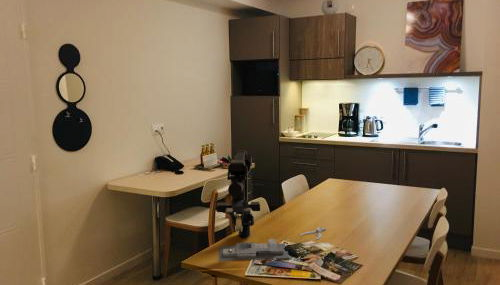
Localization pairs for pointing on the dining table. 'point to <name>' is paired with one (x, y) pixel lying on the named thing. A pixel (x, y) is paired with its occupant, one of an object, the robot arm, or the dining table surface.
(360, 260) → the dining table surface
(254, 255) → the grey slotted plate
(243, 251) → the metal latch plate
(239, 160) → the robot arm
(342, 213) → the dining table surface
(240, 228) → the brass pin
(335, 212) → the dining table surface
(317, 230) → the pliers
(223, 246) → the gray rectangular board
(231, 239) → the dining table surface
